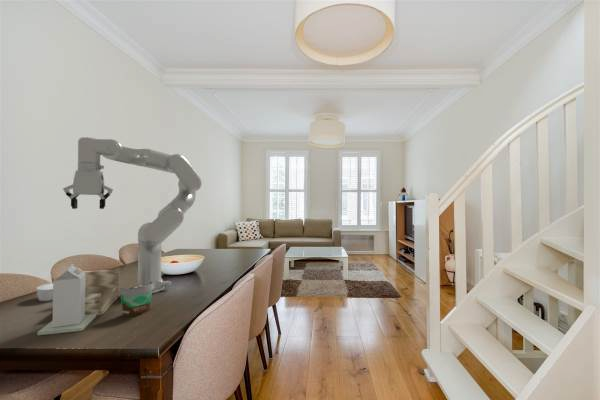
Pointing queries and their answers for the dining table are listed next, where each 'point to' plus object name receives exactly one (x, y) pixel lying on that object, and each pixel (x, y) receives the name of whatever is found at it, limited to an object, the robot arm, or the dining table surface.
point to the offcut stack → (92, 298)
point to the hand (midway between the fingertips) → (88, 208)
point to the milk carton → (69, 297)
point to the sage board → (69, 328)
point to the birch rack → (101, 289)
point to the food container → (136, 299)
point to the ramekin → (45, 292)
